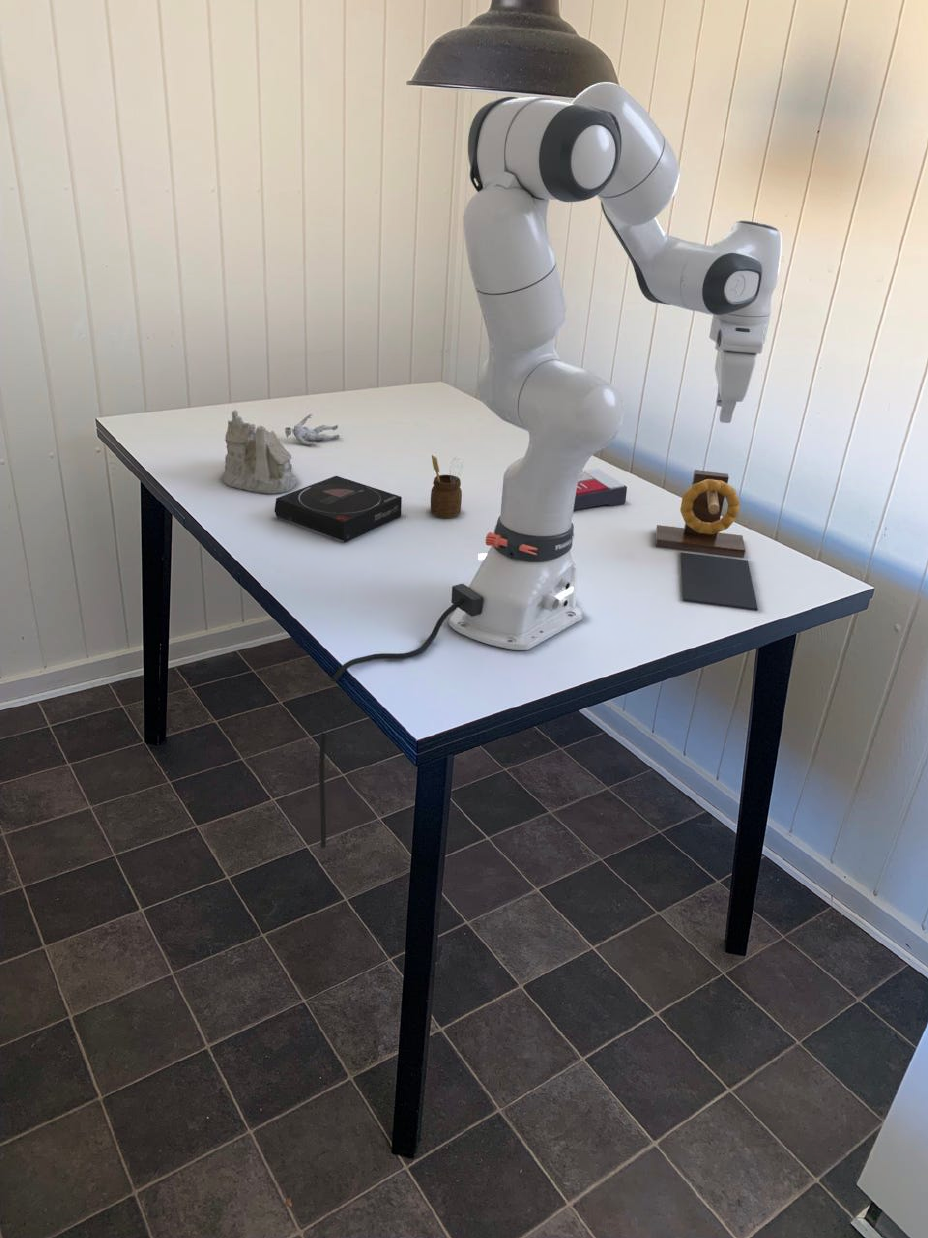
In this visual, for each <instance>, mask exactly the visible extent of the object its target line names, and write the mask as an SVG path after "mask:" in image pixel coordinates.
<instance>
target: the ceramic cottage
mask: <svg viewBox="0 0 928 1238" xmlns="http://www.w3.org/2000/svg"><path fill="white" fill-rule="evenodd" d="M224 441H225V443H226V450H227V454H226V455H225V457H224V459H225V465H224V473H223V478H222V480H223V482H224V483H225V484H226V485H228V486H229V487H231V488H235V489H239V490H246V491H249V492H255V493H260V494H268V495H269V494H270V495H271V494H284V493H287V492H289V491H290V490H292V489H293V488H294V487H295V485H296V484H297V479H296V478H295V477H294V476H293V475H292V466H293V465H292V464H291V459H292V454H291V453H290V452H289V450H287V449H286V447H285V446H284V444H283V443H281V441H280V439H279V438H278V436H277V434H276V433H275V431H274V430H271V431H268V430H267V429H266V427H265V426H263V425H258V426H256V424H255V423H249V422H244V421H243V418H242V416H239V412H238V411H237V410H236V409H234V410H232V411H231V420H228V421H227V431H226V433H225V439H224Z"/></svg>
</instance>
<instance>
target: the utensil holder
mask: <svg viewBox="0 0 928 1238" xmlns="http://www.w3.org/2000/svg"><path fill="white" fill-rule="evenodd" d="M431 460H432V465H433V466H432V467H433V470H434V471H435V473H436V476H435V477H434V478H433V483H432V484H433V486H432V488H431V490H430V492H431V493H430V513H431V515H433V516H434V517H437V518H441V519H454V518H457V517H458V516H460V514H461V511H462V499H463V491H462V488H461V485H462V481H461V478H460V476H461V474H457V473H454V474H452V470H453V467H454V466H453V465H454V462H455V460H456V462H455V464H456V465H455V467H454V468H458V466H459V464H460V467H459V468H458V469H454V470H453V472H457V470H458V471H459V472H462V469H461V468H463V464H462V462H459V461H460V460H459V457H454V459H452V460H451V462H450V463H451V464H450V465H449V467H451V469H449V474H439V472H440V468H439V462H438V458H437V457H436V456H435V455H433V454H432V455H431ZM457 461H458V462H457ZM458 463H459V464H458ZM456 466H457V467H456ZM456 474H457V476H456Z"/></svg>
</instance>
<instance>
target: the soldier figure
mask: <svg viewBox="0 0 928 1238" xmlns="http://www.w3.org/2000/svg"><path fill="white" fill-rule="evenodd" d="M312 416H314V414H313V413H310V414H308V415H307V416H305V417H304V418H302V420H300V421H299V422H298V423H297V424H295V425H294V426H293V427H289V426H288V427H285V428H284V429H285V430H284V432H285V433H284V434H285V436H286V439H288V438H289V436H291V433H292V435H293V436H294V437H295V439H296V440H297V441H298V442H299V443H300V444H302V445H304V446H318V442H317V441H324V440H325V441H329V440H332V439H334V440H338V439H339V438H340V434H335V435H329V434H326V433H322V432H323V431H327V430H329V431H330V430H332V431H336V430H338V428H339V424H336V425H333V426H331V425H326V424H321V425H319V426H316V427H315V428H314V429H313V428H309V426H304V425H305V424H306V423H307V421H308V419H312ZM320 433H322V434H320Z"/></svg>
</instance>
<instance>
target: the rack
mask: <svg viewBox="0 0 928 1238" xmlns="http://www.w3.org/2000/svg"><path fill="white" fill-rule="evenodd" d="M729 478H730V477H729V473H726V472H725V473H724V472H718V471H709V470H708V471H707V470H699V469H694V472H693V477H692V483H691V486H692V485H693V484H696V483H698V482H701V481H703V480H706V479H712V480H721V481H724V482H725V483H727V484H728V483H729ZM725 499H726V498H725V497H724V496H723V495H722V494H720V493H719V492H715V491H707V492H704V493H701V494H699V495H698V497H697V498H696V499H695V500H694V502H693V507H692V510H693V513H694V515H695V517H696V518H698V519H699V520H701V521H702V522H709V523H712V522H715V521H718V520H720V519H721V518H722V512H723V507H724V502H725ZM655 547H657V548H665V549H671V550H681V551H689V552H697V553H705V554H713V555H720V556H721V555H722V556H729V557H738V558H745V554H746V546H745V540H744V535H742V534H733V533H726V532H718V533H715V534H706V533H698V532H696V531H695V530H693V529H692V528H691V527H689V526H688V525H687V524H686V523H685V522H684V526H683V527H676V526H670V525H661V524H657V525H656V528H655Z"/></svg>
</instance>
